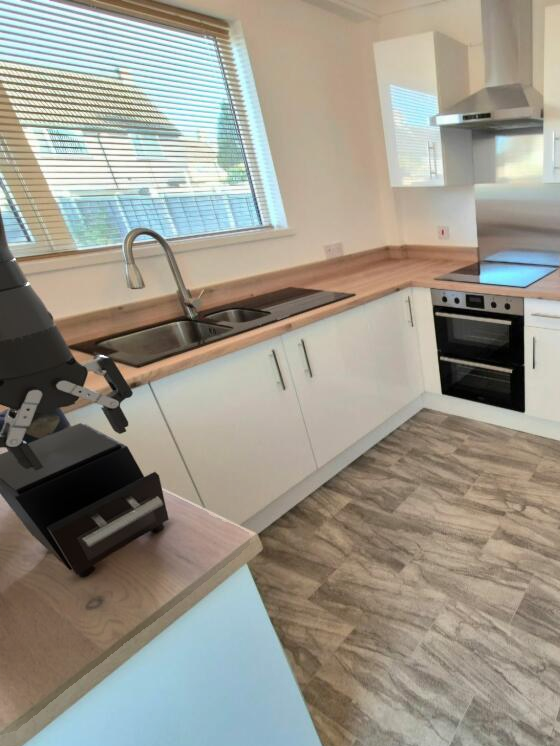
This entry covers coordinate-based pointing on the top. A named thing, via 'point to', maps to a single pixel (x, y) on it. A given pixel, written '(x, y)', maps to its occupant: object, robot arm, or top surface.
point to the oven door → (110, 523)
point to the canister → (41, 425)
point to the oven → (66, 480)
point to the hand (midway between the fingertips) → (81, 448)
